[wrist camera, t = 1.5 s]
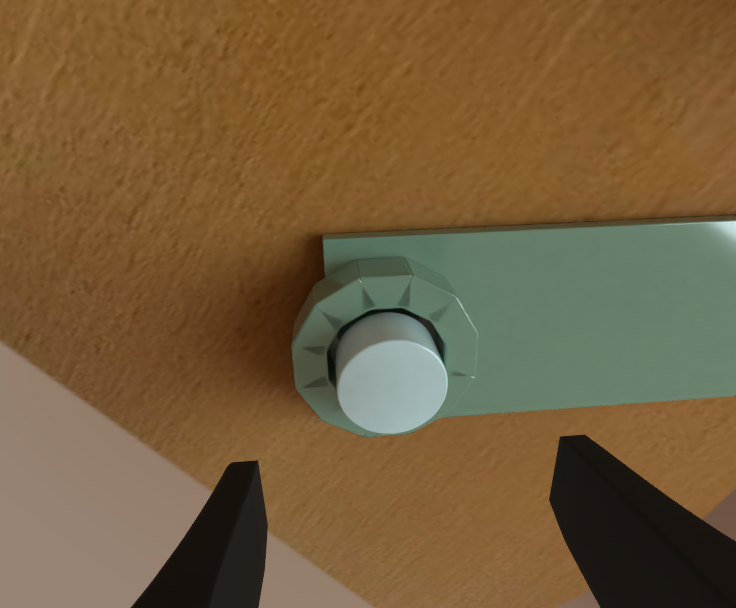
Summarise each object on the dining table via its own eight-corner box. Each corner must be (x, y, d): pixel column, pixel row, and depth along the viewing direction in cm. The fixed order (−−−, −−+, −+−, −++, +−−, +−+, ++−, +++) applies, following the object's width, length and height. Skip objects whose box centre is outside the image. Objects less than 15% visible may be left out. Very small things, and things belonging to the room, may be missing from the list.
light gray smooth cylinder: (337, 402, 19) (339, 438, 17) (332, 314, 17) (333, 344, 15) (433, 395, 19) (446, 430, 17) (437, 308, 17) (451, 337, 15)
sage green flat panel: (303, 417, 21) (302, 458, 19) (286, 235, 18) (282, 259, 16) (734, 386, 23) (779, 422, 20) (793, 212, 19) (856, 230, 17)
